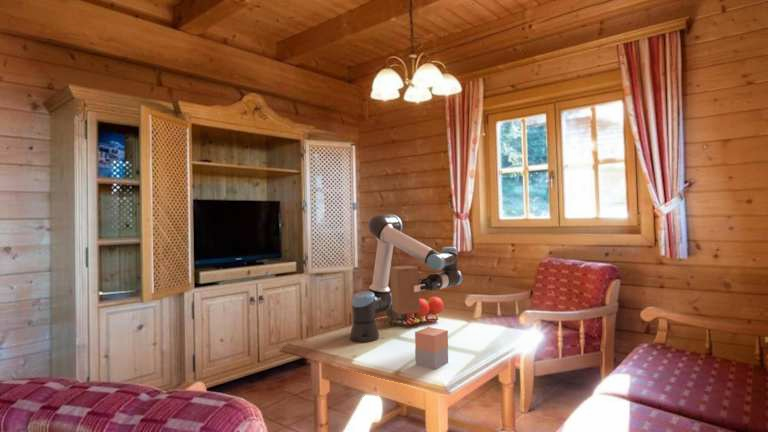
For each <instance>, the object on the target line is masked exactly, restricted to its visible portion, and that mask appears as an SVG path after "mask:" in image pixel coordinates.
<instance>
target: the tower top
mask: <svg viewBox="0 0 768 432" xmlns="http://www.w3.org/2000/svg"><path fill="white" fill-rule="evenodd" d="M448 332H449V331H448V330H447V329H441V328H435V327H429V326H428V327H425V328H422V329H420V330H417V331H415V332H414V340H415V341H414V342H415V349H420V350H425V351H429V352H434V353H436V352H438V351H440V350H442V349H444V348H446V347H448V348H449V336H448V335H449V333H448Z"/></svg>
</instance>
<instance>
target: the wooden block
mask: <svg viewBox="0 0 768 432" xmlns="http://www.w3.org/2000/svg"><path fill="white" fill-rule="evenodd" d="M419 279H420V278H419V267H417V266H413V265H411V264H410V265H408V264H407V265H395V266H393V265H391V267H390V293H391V295H392V310H393V311H395V312H396V313H397V314H409V313H419V312H420V308H419V298H420V291H418V292H414V286H415V285H419Z"/></svg>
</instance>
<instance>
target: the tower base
mask: <svg viewBox="0 0 768 432" xmlns="http://www.w3.org/2000/svg"><path fill="white" fill-rule="evenodd" d="M414 353H415V365H416V366H420V367H422V368H423V367H425V368H428V369H433V370H437V369H439V368H441V367H443V366H444V365H446V364H449V346H448V347H446V348H444V349H442V350H440V351H438V352H436V353H434V352H429V351H425V350H420V349H415V350H414Z"/></svg>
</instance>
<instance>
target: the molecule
mask: <svg viewBox="0 0 768 432" xmlns="http://www.w3.org/2000/svg"><path fill="white" fill-rule="evenodd" d="M444 306H445V305H444V301H443V300H442V299H441V298H440V297H438V296H431V297H430V298H427V300H426V299H424V298H423V297H422V298H420V297H419V308H420V312H419V313H413V315H412V313H411V314H410V313H409V314H408V315H407V319H406V318H405V319H406V320H405V321H403V323H405V324H406V325H409V326H413V325H415V324H420V323H421V322H424V320H425V321H426V322H437V321H439V319H440V318H439V314H441V313H442V312H443V310H444V308H445V307H444ZM429 315H432V316H433V315H434V316H435V317H434V316H433V317H429ZM410 316H411V317H410ZM409 317H410V318H409Z"/></svg>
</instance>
